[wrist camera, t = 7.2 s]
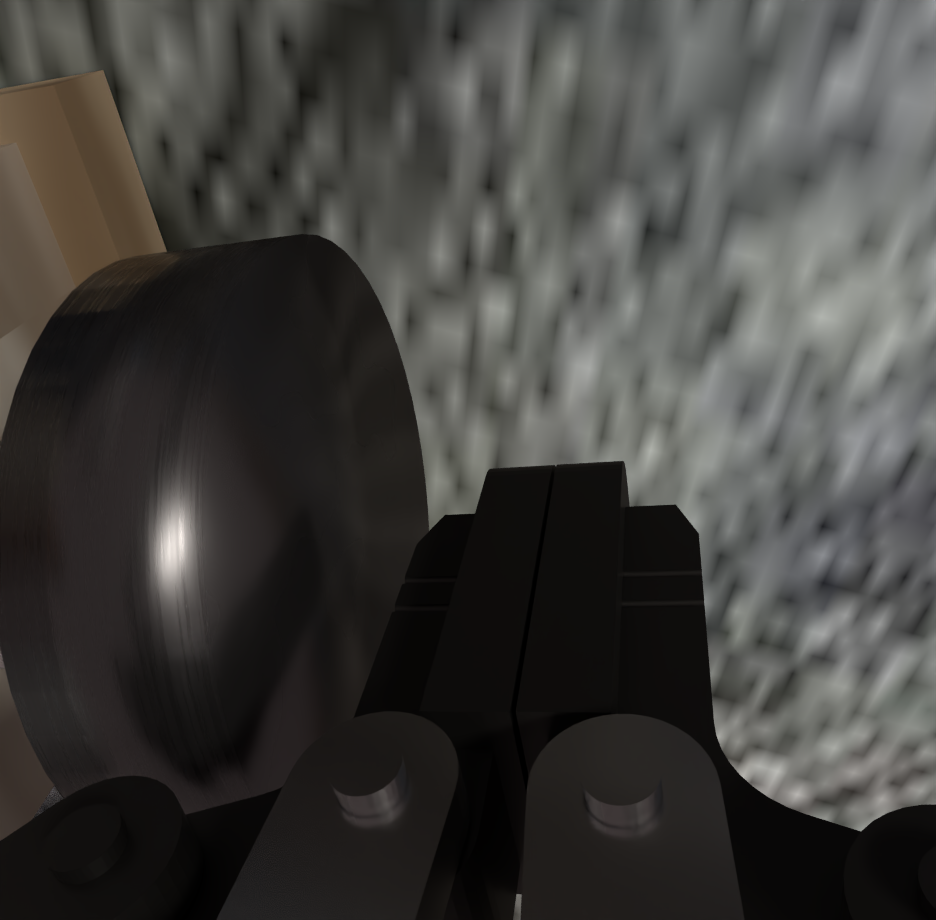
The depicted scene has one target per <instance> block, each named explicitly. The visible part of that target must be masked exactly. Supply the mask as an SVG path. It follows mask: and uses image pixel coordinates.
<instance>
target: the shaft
mask: <svg viewBox="0 0 936 920" xmlns="http://www.w3.org/2000/svg"><path fill="white" fill-rule="evenodd" d="M428 532H429V521H428V505H427V494H426V483H425V474H424V466H423V458H422V451H421V445H420V438H419V432H418V426H417V421H416V416H415V411H414V406H413V401H412V397H411V393H410V389H409V385H408V381H407V377H406V373H405V369H404V366H403V363H402V359H401V356H400V353H399V349H398V346H397V343H396V341H395V338H394V335H393V332H392V330H391V327H390V324H389V322H388V320H387V317H386V315H385V313H384V310H383V308H382V306H381V304H380V302H379V300H378V298H377V296H376V294H375V292H374V290H373V289H372V287H371V285H370V283H369V281H368V280H367V279H366V277H365V276H364V274H363V273H362V271H361V270H360V268H359V267H358V265H357V264H356V263H355V262H354V261H353V260H352V259H351V258H350V256H349V255H348V254H347V253H346V252H345V251H344V250H342V249H341V248H340V247H338V246H337V245H336V244H335V243H333V242H332V241H330V240H327V239H325V238H323V237H320V236H318V235H307V234H300V235H292V236H284V237H277V238H269V239H261V240H253V241H246V242H238V243H230V244H223V245H215V246H207V247H200V248H192V249H184V250H176V251H169V252H161V253H153V254H146V255H138V256H134V257H130V258H126V259H122V260H118V261H115V262H113V263H111V264H109V265H108V266H106V267H104V268H102V269H100V270H98V271H96V272H94V273H93V274H92V275H91V276H89V277H88V278H87V279H86V280H85V281H83V282H82V283H81V284H80V285H79V286H78V287H76V288H75V289H74V290H73V291H72V292H71V293H70V294H69V295H68V297H67V298H66V299H65V300H64V301H63V303H62V304H61V305H60V306H59V308H58V309H57V310H56V311H55V312H54V314H53V315H52V316H51V318H50V319H49V321H48V323H47V324H46V326H45V328H44V330H43V331H42V333H41V335H40V336H39V338H38V340H37V342H36V343H35V345H34V347H33V348H32V350H31V353H30V355H29V358H28V360H27V362H26V365H25V367H24V370H23V372H22V374H21V377H20V379H19V382H18V384H17V386H16V389H15V392H14V396H13V399H12V403H11V407H10V410H9V414H8V417H7V421H6V424H5V428H4V431H3V435H2V437H0V669H5V671H6V675H7V679H8V684H9V688H10V692H11V695H12V698H13V700H14V703H15V706H16V709H17V711H18V714H19V717H20V720H21V723H22V725H23V728H24V731H25V734H26V736H27V738H28V740H29V742H30V744H31V746H32V748H33V750H34V752H35V754H36V756H37V758H38V760H39V762H40V763H41V765H42V767H43V769H44V771H45V773H46V775H47V776H48V777H49V779H50V780H51V781H52V783H53V784H54V786H55V787H56V788H57V790H58V791H59V793H60V794H61V795H62V797H63V798H66V797H67V796H69V795H71V794H72V793H74V792H76V791H78V790H80V789H82V788H84V787H87V786H89V785H91V784H94V783H97V782H100V781H103V780H106V779H111V778H115V777H120V776H144V777H149V778H152V779H156V780H158V781H160V782H161V783H163V784H165V785H167V786H168V787H169V788H170V789H171V790H172V791H173V792H174V794H175V796H176V798H177V799H178V801H179V803H180V805H181V807H182V809H183V811H184V813H185V815H186V814H189V813H193V812H197V811H201V810H205V809H209V808H212V807H216V806H220V805H224V804H228V803H232V802H235V801H239V800H243V799H247V798H251V797H254V796H258V795H261V794H265V793H268V792H271V791H274V790H276V789H279V788H281V787H283V785H284V783H285V781H286V779H287V777H288V775H289V773H290V772H291V770H292V768H293V767H294V765H295V763H296V762H297V760H298V759H299V757H300V756H301V755H302V754H303V753H304V751H305V750H306V749H307V748H308V747H309V746H310V745H311V744H312V743H313V742H314V741H315V740H316V739H318V738H319V737H320V736H322V735H323V734H324V733H326V732H327V731H329V730H330V729H332V728H334V727H336V726H337V725H339V724H341V723H343V722H345V721H348V720H350V719H353V718H354V715H355V712H356V710H357V707H358V704H359V701H360V699H361V696H362V693H363V690H364V688H365V685H366V682H367V679H368V677H369V674H370V671H371V668H372V666H373V663H374V660H375V657H376V655H377V652H378V649H379V646H380V644H381V641H382V638H383V635H384V633H385V630H386V627H387V624H388V622H389V619H390V616H391V613H392V612H395V602H396V600H397V597H398V594H399V591H400V589H401V586H402V584H405V575H406V572H407V569H408V567H409V564H410V561H411V558H412V556H413V553H414V550H415V547H416V545H417V543H418V542H419V541H420V540H421V539H422V538H423V537H424V536H425V535H426V534H427V533H428Z"/></svg>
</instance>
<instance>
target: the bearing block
mask: <svg viewBox="0 0 936 920" xmlns="http://www.w3.org/2000/svg"><path fill="white" fill-rule="evenodd" d="M161 252H167V251H166V248H165V245H164V242H163V240H162V237H161V234H160V231H159V228H158V225H157V222H156V220H155V217H154V214H153V211H152V208H151V205H150V202H149V200H148V197H147V194H146V191H145V188H144V185H143V182H142V180H141V177H140V174H139V171H138V168H137V165H136V162H135V160H134V157H133V154H132V151H131V148H130V145H129V142H128V140H127V137H126V134H125V131H124V128H123V125H122V123H121V120H120V117H119V114H118V111H117V108H116V105H115V103H114V100H113V97H112V94H111V91H110V88H109V85H108V83H107V80H106V77H105V74H104V71H103V70H101V71H96V72H90V73H85V74H79V75H74V76H68V77H63V78H57V79H52V80H46V81H41V82H35V83H30V84H24V85H19V86H13V87H8V88H2V89H0V437H2V435H3V431H4V428H5V424H6V421H7V417H8V414H9V410H10V407H11V403H12V399H13V396H14V392H15V389H16V386H17V384H18V382H19V379H20V377H21V374H22V372H23V370H24V367H25V365H26V362H27V360H28V358H29V355H30V353H31V350H32V348H33V347H34V345H35V343H36V342H37V340H38V338H39V336H40V335H41V333H42V331H43V330H44V328H45V326H46V324H47V323H48V321H49V319H50V318H51V316H52V315H53V314H54V312H55V311H56V310H57V309H58V308H59V306H60V305H61V304H62V303H63V301H64V300H65V299H66V298H67V297H68V295H69V294H70V293H71V292H72V291H73V290H74V289H75V288H76V287H78V286H79V285H80V284H81V283H82V282H83V281H85V280H86V279H87V278H88V277H89V276H91V275H92V274H93V273H94V272H96V271H98V270H100V269H102V268H104V267H106V266H108V265H109V264H111V263H113V262H115V261H118V260H122V259H126V258H130V257H134V256H138V255H146V254H153V253H161ZM53 787H54V784H53V783H52V781H51V780H50V779H49V777H48V776H47V775H46V773H45V771H44V769H43V767H42V765H41V763H40V762H39V760H38V758H37V756H36V754H35V752H34V750H33V748H32V746H31V744H30V742H29V740H28V738H27V736H26V734H25V731H24V728H23V725H22V723H21V720H20V717H19V714H18V711H17V709H16V706H15V703H14V700H13V698H12V695H11V692H10V688H9V684H8V679H7V675H6V671H5V669H0V841H1V840H2V839H4V838H5V837H7V836H8V835H10V834H11V833H13V832H14V831H16V830H17V829H19V828H20V827H22V826H23V825H25V824H26V823H28V822H29V821H31V820H32V819H33V817H34V816H35V814H36V813H37V811H38V810H39V808H40V807H41V805H42V803H43V802H44V800H45V799H46V797H47V796H48V794H49V793H50V791H51V790H52V788H53Z"/></svg>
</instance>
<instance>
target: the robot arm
mask: <svg viewBox="0 0 936 920" xmlns="http://www.w3.org/2000/svg"><path fill="white" fill-rule="evenodd" d="M516 894H522V898H521V919H520V920H936V805H918V806H911V807H905V808H901V809H898V810H895V811H892V812H889V813H887V814H885V815H883V816H881V817H880V818H878V819H876V820H874V821H873V822H871V823H870V824H869V825H868V826H867V827H866V828H865V829H864V830H862V831H861V832H860V831H857V830H854V829H851V828H848V827H845V826H841V825H838V824H835V823H832V822H829V821H826V820H822V819H819V818H816V817H813V816H810V815H806V814H804V813H801V812H798V811H796V810H793V809H791V808H788V807H786V806H784V805H782V804H780V803H778V802H776V801H774V800H772V799H770V798H768V797H767V796H766V795H764V794H763V793H761V792H760V791H758V790H757V789H755V788H754V787H753V786H752V785H750V784H749V783H748V782H747V781H746V780H745V779H744V778H743V777H742V776H740V775H739V773H738V772H737V771H736V770H735V769H734V767H733V766H732V765H731V764H730V763H729V761H728V759H727V758H726V756H725V754H724V753H723V751H722V749H721V747H720V744H719V742H718V739H717V736H716V732H715V726H714V718H713V705H712V693H711V680H710V668H709V656H708V643H707V631H706V618H705V606H704V594H703V581H702V569H701V556H700V544H699V533H698V532H697V531H696V530H695V528H694V527H693V526H692V525H691V523H690V522H689V521H688V520H687V518H686V517H685V516H684V514H683V513H682V512H681V511H680V509H679V508H678V507H677V506H676V505H657V506H634V507H630V506H629V496H628V486H627V476H626V468H625V463H624V461H614V462H597V463H579V464H561V465H557V466H555V465H548V466H530V467H512V468H494V469H489V470H488V472H487V475H486V478H485V481H484V485H483V488H482V492H481V495H480V499H479V502H478V506H477V509H476V513H475V514H459V515H444V517H443V518H442V519H441V520H440V521H439V522H438V523H437V524H436V525H435V526H434V527H433V528H432V529H431V530H430V531H429V532H428V533H427V534H426V535H425V536H424V537H423V538H422V539H421V540H420V541H419V542H418V543H417V545H416V547H415V550H414V553H413V556H412V558H411V561H410V564H409V567H408V569H407V572H406V575H405V584H402V586H401V589H400V591H399V594H398V597H397V600H396V602H395V612H392V613H391V616H390V619H389V622H388V624H387V627H386V630H385V633H384V635H383V638H382V641H381V644H380V646H379V649H378V652H377V655H376V657H375V660H374V663H373V666H372V668H371V671H370V674H369V677H368V679H367V682H366V685H365V688H364V690H363V693H362V696H361V699H360V701H359V704H358V707H357V710H356V712H355V715H354V718H353V719H350V720H348V721H345V722H343V723H341V724H339V725H337V726H336V727H334V728H332V729H330V730H329V731H327V732H326V733H324V734H323V735H322V736H320V737H319V738H318V739H316V740H315V741H314V742H313V743H312V744H311V745H310V746H309V747H308V748H307V749H306V750H305V751H304V753H303V754H302V755H301V756H300V757H299V759H298V760H297V762H296V763H295V765H294V767H293V768H292V770H291V772H290V773H289V775H288V777H287V779H286V781H285V783H284V785H283V787H281V788H279V789H276V790H274V791H271V792H268V793H265V794H261V795H258V796H254V797H251V798H247V799H243V800H239V801H235V802H232V803H228V804H224V805H220V806H216V807H212V808H209V809H205V810H201V811H197V812H193V813H189V814H186V815H185V813H184V811H183V809H182V807H181V805H180V803H179V801H178V799H177V798H176V796H175V794H174V792H173V791H172V790H171V789H170V788H169V787H168V786H167V785H165V784H163V783H161V782H160V781H158V780H156V779H152V778H149V777H144V776H120V777H115V778H111V779H106V780H103V781H100V782H97V783H94V784H91V785H89V786H87V787H84V788H82V789H80V790H78V791H76V792H74V793H72V794H71V795H69V796H67V797H66V798H64V799H62V800H61V801H59V802H58V803H56V804H55V805H53V806H52V807H50V808H49V809H47V810H46V811H44V812H43V813H41V814H40V815H38V816H37V817H35V818H34V819H32V820H31V821H29V822H28V823H26V824H25V825H23V826H22V827H20V828H19V829H17V830H16V831H14V832H13V833H11V834H10V835H8V836H7V837H5V838H4V839H2V840H1V841H0V920H513V915H514V908H515V901H516Z"/></svg>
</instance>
